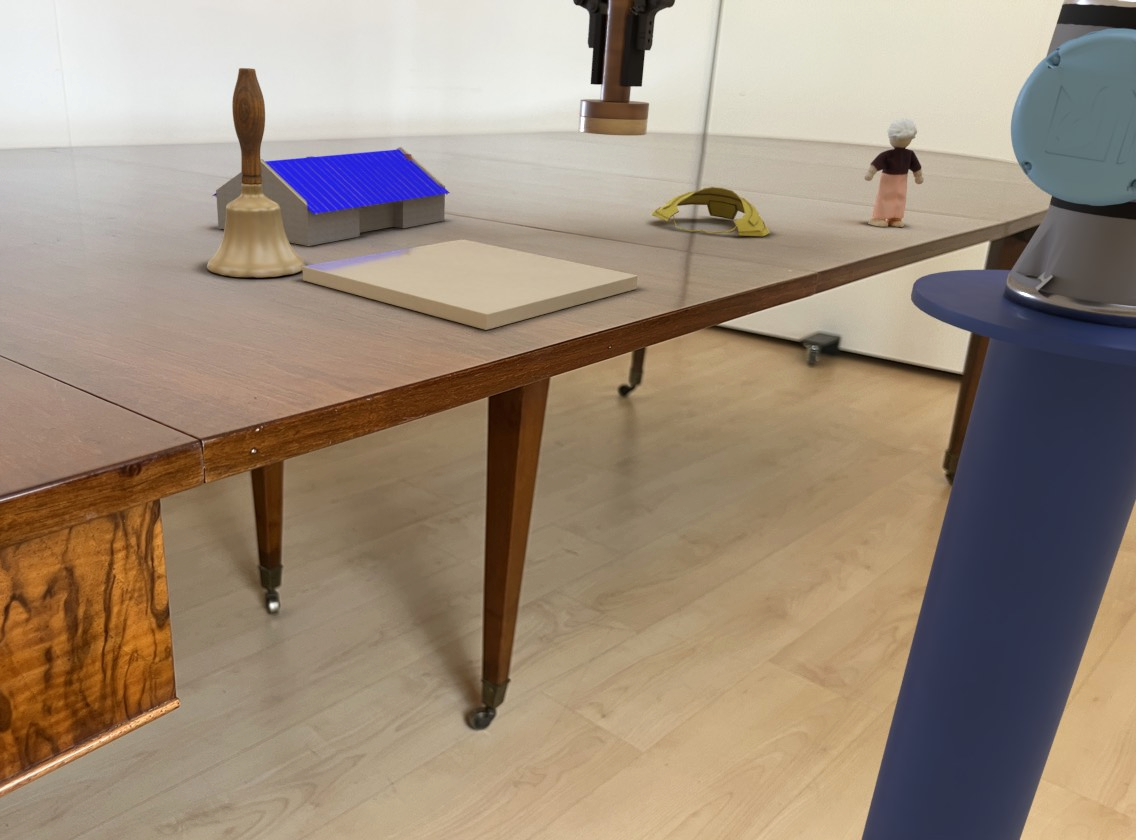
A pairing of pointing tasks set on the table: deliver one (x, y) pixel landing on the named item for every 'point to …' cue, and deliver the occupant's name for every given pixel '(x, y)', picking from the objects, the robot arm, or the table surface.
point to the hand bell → (252, 200)
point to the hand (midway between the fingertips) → (616, 84)
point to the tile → (471, 281)
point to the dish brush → (614, 84)
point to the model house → (345, 194)
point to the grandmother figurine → (894, 174)
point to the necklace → (718, 210)
